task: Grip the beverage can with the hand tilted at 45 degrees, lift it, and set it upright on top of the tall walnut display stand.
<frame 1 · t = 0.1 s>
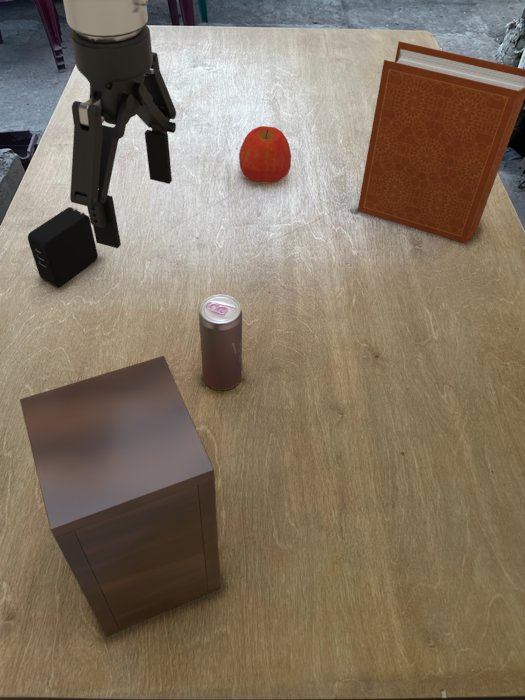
hand: (136, 210, 75), 29 cm above the table, tool pointing down, fingers open, 13 cm apart
electronic device: (70, 270, 111), on the table
book: (418, 216, 124), on the table
apple: (264, 176, 132), on the table
stand: (147, 558, 77), on the table
beverage can: (222, 377, 96), on the table
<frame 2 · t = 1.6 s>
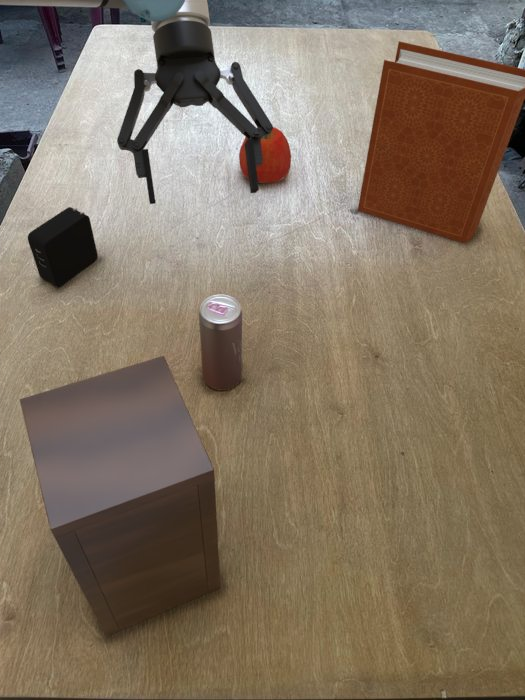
hand: (204, 197, 82), 26 cm above the table, tool tilted 45°, fingers open, 13 cm apart
nothing on the table moved.
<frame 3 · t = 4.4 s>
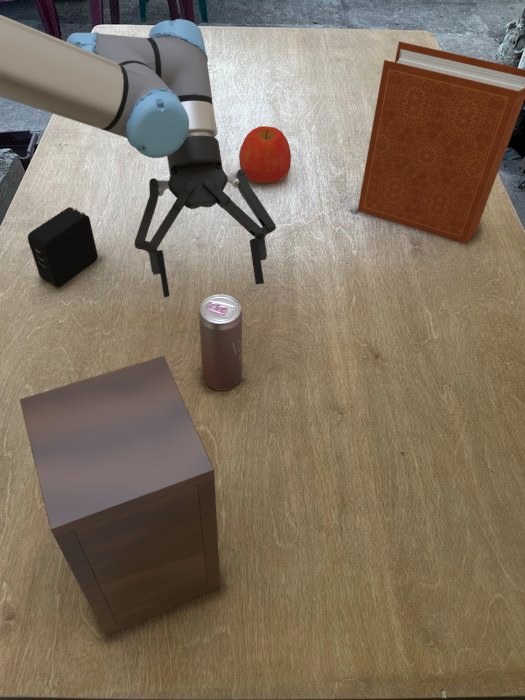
hand: (213, 290, 90), 13 cm above the table, tool tilted 45°, fingers open, 13 cm apart
nothing on the table moved.
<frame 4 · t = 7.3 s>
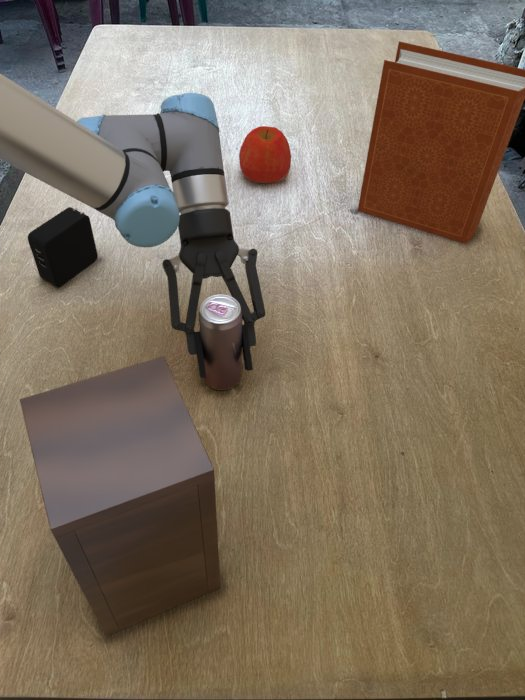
hand: (226, 373, 90), 5 cm above the table, tool tilted 45°, fingers closed on beverage can, 6 cm apart
beverage can: (222, 377, 96), on the table, touching gripper
everything else where it was.
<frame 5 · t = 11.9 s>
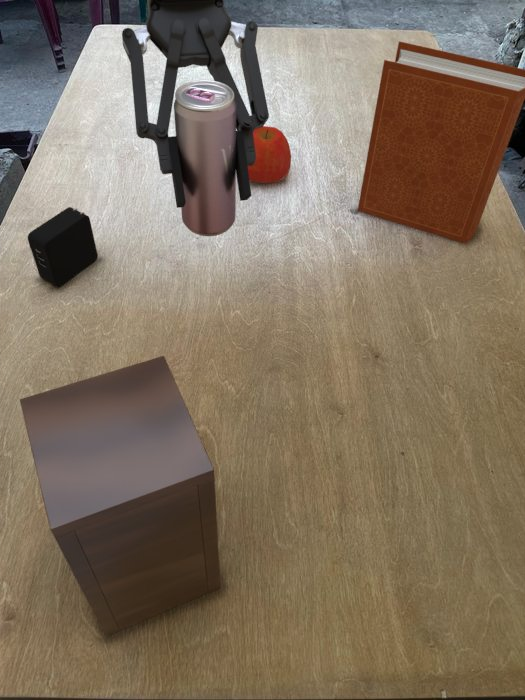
hand: (213, 201, 64), 37 cm above the table, tool tilted 45°, fingers closed on beverage can, 6 cm apart
beverage can: (209, 223, 70), point 31 cm above the table, touching gripper
everything else where it was.
when the fingers open (33 cm above the table, at t = 16.7 s): beverage can stays where it is, resting on stand.
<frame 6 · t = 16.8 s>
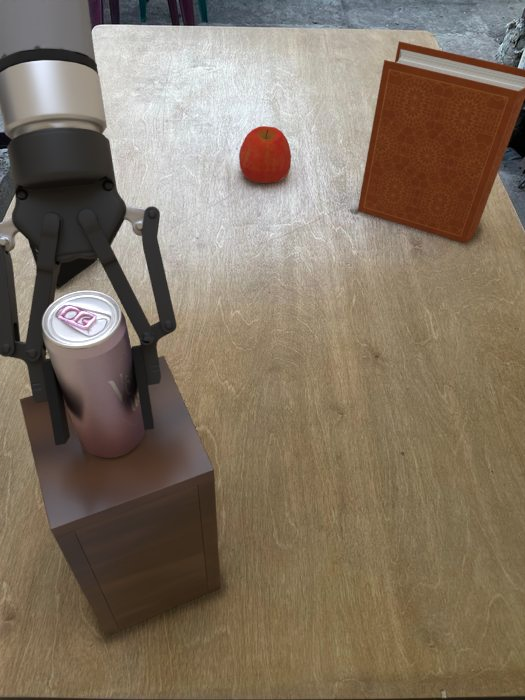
hand: (106, 433, 50), 33 cm above the table, tool tilted 45°, fingers open, 6 cm apart
beverage can: (113, 433, 56), point 28 cm above the table, touching stand
everything else where it was.
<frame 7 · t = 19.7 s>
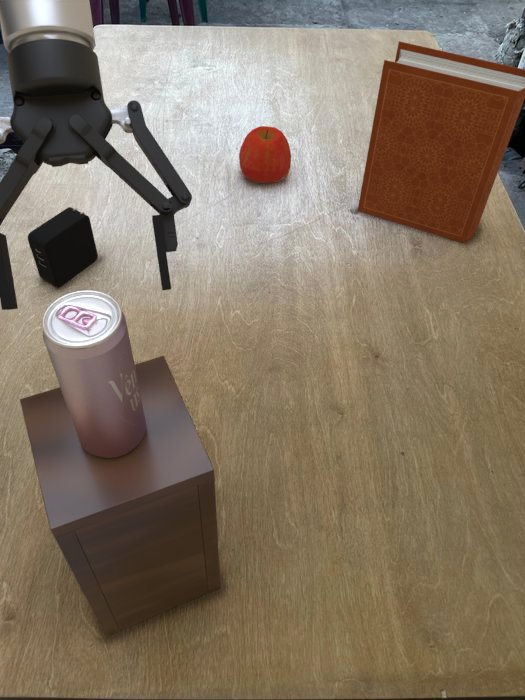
hand: (90, 299, 55), 36 cm above the table, tool tilted 45°, fingers open, 13 cm apart
nothing on the table moved.
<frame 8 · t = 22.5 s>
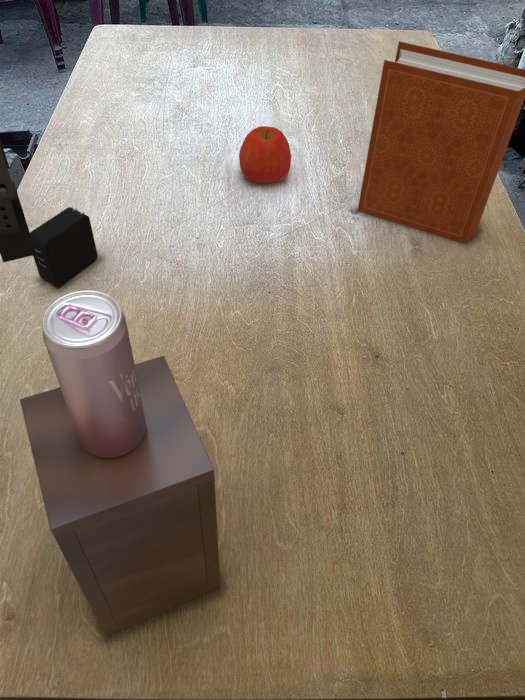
hand: (6, 209, 56), 41 cm above the table, tool pointing down, fingers open, 13 cm apart
nothing on the table moved.
at the end: beverage can inside the target area on the stand (0.0 cm from its centre), point 27.8 cm above the stand's base; beverage can tilted 0°; the gripper is holding nothing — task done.
